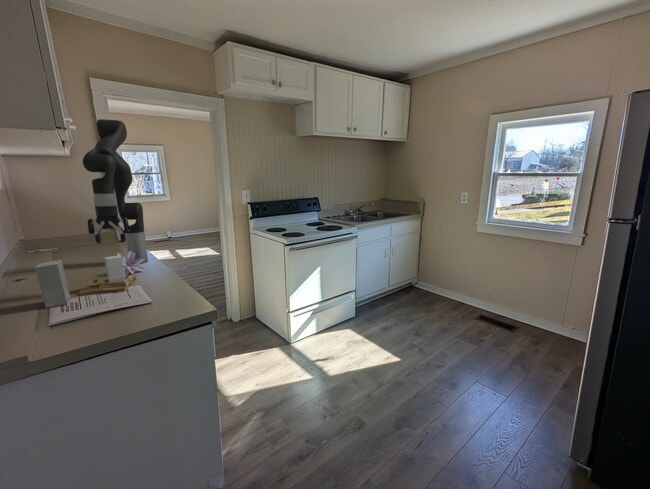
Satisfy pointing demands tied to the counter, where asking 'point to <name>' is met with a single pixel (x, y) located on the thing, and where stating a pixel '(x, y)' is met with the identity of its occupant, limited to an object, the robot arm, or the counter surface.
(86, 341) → the counter surface
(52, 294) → the skincare box
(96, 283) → the brass knob disc
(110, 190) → the robot arm
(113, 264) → the skincare box
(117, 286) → the carrier board
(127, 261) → the water lily
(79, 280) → the counter surface
